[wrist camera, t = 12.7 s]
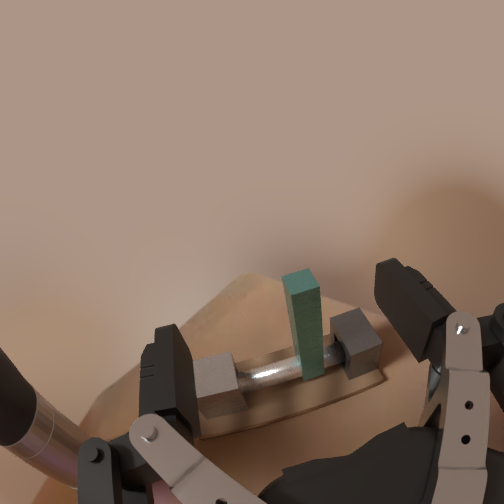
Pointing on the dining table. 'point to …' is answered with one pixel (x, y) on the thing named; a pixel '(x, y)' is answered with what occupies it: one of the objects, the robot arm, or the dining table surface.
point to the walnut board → (288, 395)
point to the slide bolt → (298, 338)
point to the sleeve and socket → (224, 370)
